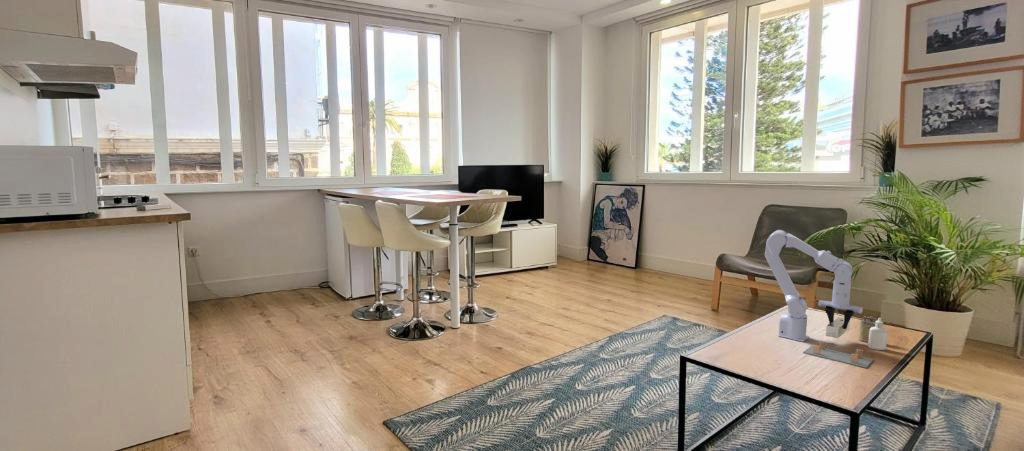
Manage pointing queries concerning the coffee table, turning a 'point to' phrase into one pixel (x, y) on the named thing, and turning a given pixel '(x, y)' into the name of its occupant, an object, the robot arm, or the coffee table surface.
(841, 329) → the silver long block
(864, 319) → the lighter
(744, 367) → the coffee table surface
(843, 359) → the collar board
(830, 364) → the coffee table surface
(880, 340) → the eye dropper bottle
